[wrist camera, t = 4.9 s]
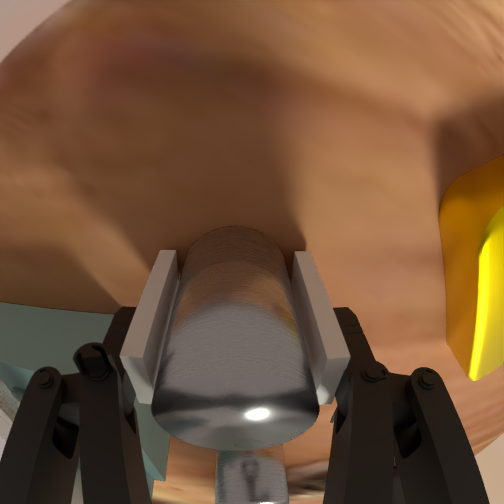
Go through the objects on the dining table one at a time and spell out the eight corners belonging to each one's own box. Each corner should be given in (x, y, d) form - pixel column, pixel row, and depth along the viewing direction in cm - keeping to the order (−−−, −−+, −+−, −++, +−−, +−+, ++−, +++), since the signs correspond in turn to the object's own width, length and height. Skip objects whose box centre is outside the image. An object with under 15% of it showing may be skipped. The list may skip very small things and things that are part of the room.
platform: (79, 439, 15) (69, 474, 13) (36, 426, 15) (25, 457, 13) (16, 355, 11) (-7, 400, 8) (-27, 343, 11) (-50, 380, 8)
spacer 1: (281, 311, 16) (304, 447, 9) (188, 311, 16) (167, 447, 9) (290, 227, 14) (337, 367, 7) (180, 226, 14) (132, 366, 7)
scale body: (170, 434, 24) (159, 570, 11) (45, 410, 23) (13, 520, 11) (129, 315, 16) (64, 563, 4) (-25, 297, 15) (-109, 436, 3)
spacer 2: (276, 429, 23) (284, 510, 16) (218, 429, 23) (217, 512, 16) (282, 400, 21) (294, 497, 14) (215, 401, 21) (212, 499, 14)
